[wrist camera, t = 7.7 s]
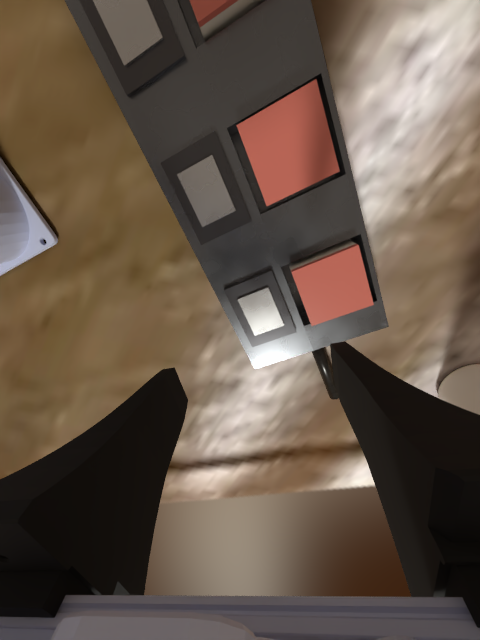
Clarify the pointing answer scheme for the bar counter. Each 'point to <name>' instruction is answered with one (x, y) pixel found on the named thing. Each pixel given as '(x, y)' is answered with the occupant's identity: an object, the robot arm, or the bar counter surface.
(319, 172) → the button
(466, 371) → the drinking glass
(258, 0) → the button
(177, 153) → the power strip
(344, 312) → the button
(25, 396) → the bar counter surface
